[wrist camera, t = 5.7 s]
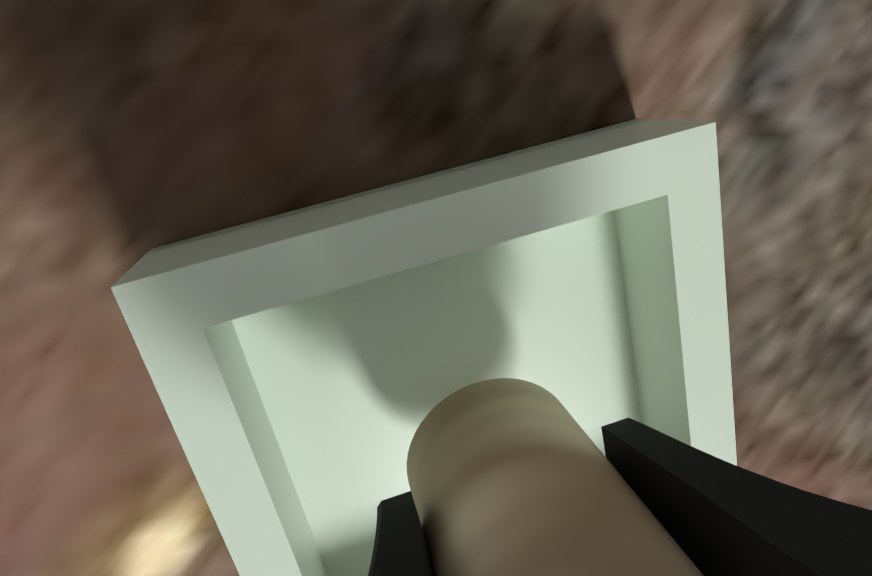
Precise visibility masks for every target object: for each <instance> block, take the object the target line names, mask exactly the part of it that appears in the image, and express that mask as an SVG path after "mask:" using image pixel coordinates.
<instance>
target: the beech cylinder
mask: <svg viewBox="0 0 872 576" xmlns="http://www.w3.org/2000/svg"><path fill="white" fill-rule="evenodd" d="M407 477H408V483H409V486H410V490H411V492H412V496H413V499H414V502H415V506H416V509H417V512H418V516H419V519H420V523H421V526H422V529H423V533H424V536H425V540H426V544H427V547H428V551H429V554H430V558H431V562H432V565H433V569H434V574H435V576H704V575H703V574H702V573H701V572H700V571H699V569H698V568H697V567H696V566H695V565H694V563H693V562H692V561H691V560H690V559H689V557H688V556H687V555H686V554H685V552H684V551H683V550H682V549H681V548H680V546H679V545H678V544H677V543H676V542H675V540H674V539H673V538H672V537H671V536H670V534H669V533H668V532H667V531H666V530H665V528H664V527H663V526H662V525H661V523H660V522H659V521H658V520H657V519H656V517H655V516H654V515H653V514H652V513H651V511H650V510H649V509H648V508H647V507H646V505H645V504H644V503H643V502H642V500H641V499H640V498H639V497H638V496H637V494H636V493H635V492H634V491H633V490H632V488H631V487H630V486H629V485H628V484H627V482H626V481H625V480H624V479H623V477H622V476H621V475H620V474H619V473H618V471H617V470H616V469H615V468H614V467H613V465H612V464H611V463H610V462H609V461H608V459H607V458H606V457H605V456H604V454H603V453H602V452H601V451H600V450H599V448H598V447H597V446H596V445H595V444H594V442H593V441H592V440H591V439H590V438H589V436H588V435H587V434H586V433H585V432H584V430H583V429H582V428H581V427H580V425H579V424H578V423H577V422H576V421H575V419H574V418H573V417H572V416H571V415H570V413H569V412H568V411H567V410H566V409H565V407H564V406H563V405H562V404H561V402H560V401H559V400H558V399H557V398H556V397H555V396H554V395H553V394H552V393H550V392H549V391H547V390H546V389H544V388H543V387H541V386H539V385H537V384H534V383H532V382H528V381H525V380H520V379H514V378H497V379H489V380H484V381H480V382H476V383H474V384H471V385H468V386H466V387H463V388H461V389H459V390H457V391H455V392H454V393H452V394H451V395H449V396H447V397H446V398H445V399H443V400H442V401H441V402H440V403H438V404H437V405H436V406H435V407H434V408H433V409H432V410H431V411H430V412H429V413H428V414H427V416H426V417H425V418H424V419H423V421H422V422H421V423H420V425H419V427H418V428H417V430H416V432H415V434H414V436H413V438H412V441H411V443H410V447H409V451H408V456H407Z"/></svg>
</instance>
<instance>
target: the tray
mask: <svg viewBox="0 0 872 576" xmlns="http://www.w3.org/2000/svg"><path fill="white" fill-rule="evenodd" d="M111 289H112V291H113V294H114V296H115V298H116V300H117V303H118V305H119V307H120V309H121V311H122V314H123V316H124V318H125V320H126V323H127V325H128V327H129V329H130V332H131V334H132V336H133V338H134V340H135V343H136V345H137V347H138V349H139V352H140V354H141V356H142V358H143V361H144V363H145V365H146V367H147V369H148V372H149V374H150V376H151V378H152V381H153V383H154V385H155V387H156V390H157V392H158V394H159V396H160V398H161V401H162V403H163V405H164V407H165V410H166V412H167V414H168V416H169V419H170V421H171V423H172V425H173V428H174V430H175V432H176V434H177V436H178V439H179V441H180V443H181V445H182V448H183V450H184V452H185V454H186V457H187V459H188V461H189V463H190V465H191V468H192V470H193V472H194V474H195V477H196V479H197V481H198V483H199V486H200V488H201V490H202V492H203V494H204V497H205V499H206V501H207V503H208V506H209V508H210V510H211V512H212V515H213V517H214V519H215V521H216V523H217V526H218V528H219V530H220V532H221V535H222V537H223V539H224V541H225V544H226V546H227V548H228V550H229V552H230V555H231V557H232V559H233V561H234V564H235V566H236V568H237V570H238V573H239V575H240V576H368V573H369V568H370V564H371V559H372V553H373V547H374V541H375V534H376V524H377V507H378V505H379V504H380V502H381V501H382V500H385V499H388V498H391V497H394V496H397V495H400V494H403V493H406V492H409V491H411V490H410V486H409V483H408V477H407V456H408V451H409V447H410V443H411V441H412V438H413V436H414V434H415V432H416V430H417V428H418V427H419V425H420V423H421V422H422V421H423V419H424V418H425V417H426V416H427V414H428V413H429V412H430V411H431V410H432V409H433V408H434V407H435V406H436V405H437V404H438V403H440V402H441V401H442V400H443V399H445V398H446V397H447V396H449V395H451V394H452V393H454V392H455V391H457V390H459V389H461V388H463V387H466V386H468V385H471V384H474V383H476V382H480V381H484V380H489V379H497V378H514V379H520V380H525V381H528V382H532V383H534V384H537V385H539V386H541V387H543V388H544V389H546V390H547V391H549V392H550V393H552V394H553V395H554V396H555V397H556V398H557V399H558V400H559V401H560V402H561V404H562V405H563V406H564V407H565V409H566V410H567V411H568V412H569V413H570V415H571V416H572V417H573V418H574V419H575V421H576V422H577V423H578V424H579V425H580V427H581V428H582V429H583V430H584V432H585V433H586V434H587V435H588V436H589V438H590V439H591V440H592V441H593V442H594V444H595V445H596V446H597V447H598V448H599V450H600V451H601V452H602V453H603V454H604V456H605V457H606V455H605V449H604V442H603V436H602V429H601V427H602V426H605V425H608V424H611V423H614V422H617V421H620V420H623V419H626V418H631V419H633V420H635V421H638V422H640V423H642V424H644V425H647V426H649V427H651V428H653V429H655V430H657V431H659V432H662V433H664V434H666V435H668V436H670V437H672V438H674V439H677V440H679V441H681V442H683V443H685V444H687V445H690V446H692V447H694V448H696V449H699V450H701V451H703V452H705V453H708V454H710V455H712V456H714V457H717V458H719V459H721V460H724V461H726V462H729V463H731V464H733V465H736V466H737V458H736V442H735V426H734V410H733V394H732V378H731V362H730V346H729V330H728V314H727V298H726V282H725V266H724V250H723V234H722V218H721V202H720V186H719V170H718V154H717V138H716V122H703V121H680V120H656V119H634V120H630V121H626V122H623V123H619V124H615V125H612V126H608V127H604V128H600V129H597V130H593V131H589V132H585V133H582V134H578V135H574V136H570V137H567V138H563V139H559V140H555V141H552V142H548V143H544V144H540V145H537V146H533V147H529V148H525V149H522V150H518V151H514V152H510V153H507V154H503V155H499V156H496V157H492V158H488V159H484V160H481V161H477V162H473V163H469V164H466V165H462V166H458V167H454V168H451V169H447V170H443V171H439V172H436V173H432V174H428V175H424V176H421V177H417V178H413V179H409V180H406V181H402V182H398V183H395V184H391V185H387V186H383V187H380V188H376V189H372V190H368V191H365V192H361V193H357V194H353V195H350V196H346V197H342V198H338V199H335V200H331V201H327V202H323V203H320V204H316V205H312V206H308V207H305V208H301V209H297V210H293V211H290V212H286V213H282V214H279V215H275V216H271V217H267V218H264V219H260V220H256V221H252V222H249V223H245V224H241V225H237V226H234V227H230V228H226V229H222V230H219V231H215V232H211V233H207V234H204V235H200V236H196V237H192V238H189V239H185V240H181V241H177V242H174V243H170V244H166V245H163V246H159V247H155V248H152V249H150V250H149V251H148V252H147V253H146V254H145V255H144V256H143V257H142V258H141V259H140V260H139V261H138V262H137V263H136V264H135V265H134V266H133V267H131V268H130V269H129V270H128V271H127V272H126V273H125V274H124V275H123V276H122V277H121V278H120V279H119V280H118V281H117V282H116V283H115V284H114V285H113V286H111Z"/></svg>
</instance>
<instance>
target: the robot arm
mask: <svg viewBox="0 0 872 576" xmlns="http://www.w3.org/2000/svg"><path fill="white" fill-rule="evenodd" d="M601 429H602V436H603V442H604V449H605V455H606V458H607V459H608V461H609V462H610V463H611V464H612V465H613V467H614V468H615V469H616V470H617V471H618V473H619V474H620V475H621V476H622V477H623V479H624V480H625V481H626V482H627V484H628V485H629V486H630V487H631V488H632V490H633V491H634V492H635V493H636V494H637V496H638V497H639V498H640V499H641V500H642V502H643V503H644V504H645V505H646V507H647V508H648V509H649V510H650V511H651V513H652V514H653V515H654V516H655V517H656V519H657V520H658V521H659V522H660V523H661V525H662V526H663V527H664V528H665V530H666V531H667V532H668V533H669V534H670V536H671V537H672V538H673V539H674V540H675V542H676V543H677V544H678V545H679V546H680V548H681V549H682V550H683V551H684V552H685V554H686V555H687V556H688V557H689V559H690V560H691V561H692V562H693V563H694V565H695V566H696V567H697V568H698V569H699V571H700V572H701V573H702V574H703V575H704V576H872V510H868V509H865V508H861V507H857V506H854V505H850V504H846V503H843V502H839V501H836V500H833V499H830V498H826V497H823V496H820V495H817V494H813V493H810V492H807V491H804V490H800V489H798V488H795V487H792V486H789V485H786V484H783V483H780V482H777V481H775V480H772V479H769V478H767V477H764V476H762V475H759V474H756V473H754V472H751V471H748V470H746V469H743V468H741V467H738V466H736V465H733V464H731V463H729V462H726V461H724V460H721V459H719V458H717V457H714V456H712V455H710V454H708V453H705V452H703V451H701V450H699V449H696V448H694V447H692V446H690V445H687V444H685V443H683V442H681V441H679V440H677V439H674V438H672V437H670V436H668V435H666V434H664V433H662V432H659V431H657V430H655V429H653V428H651V427H649V426H647V425H644V424H642V423H640V422H638V421H635V420H633V419H631V418H626V419H623V420H620V421H617V422H614V423H611V424H608V425H605V426H602V427H601ZM368 576H435V574H434V569H433V565H432V562H431V558H430V554H429V551H428V547H427V544H426V540H425V536H424V533H423V529H422V526H421V523H420V519H419V516H418V512H417V509H416V506H415V502H414V499H413V496H412V492H411V491H409V492H406V493H403V494H400V495H397V496H394V497H391V498H388V499H385V500H382V501H381V502H380V504H379V505H378V507H377V524H376V534H375V541H374V547H373V553H372V559H371V564H370V568H369V573H368Z"/></svg>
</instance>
